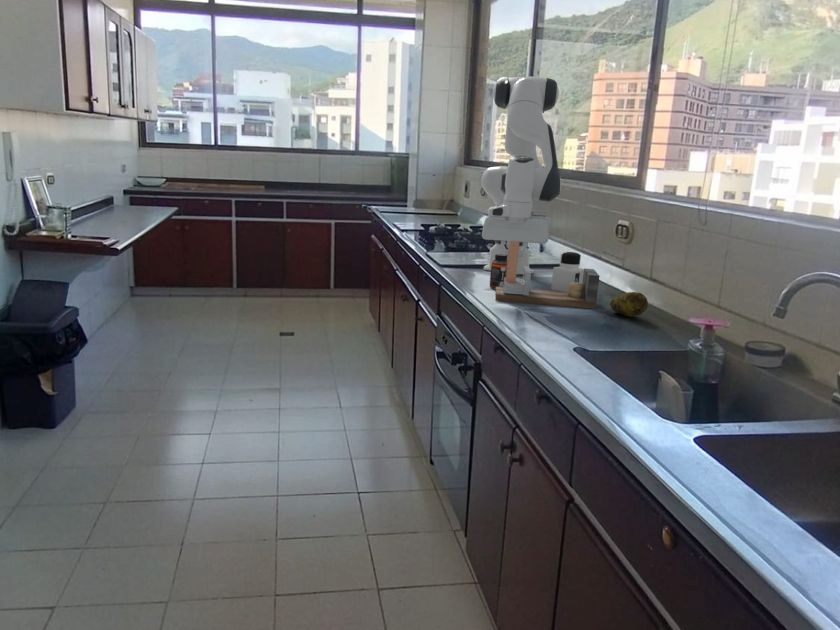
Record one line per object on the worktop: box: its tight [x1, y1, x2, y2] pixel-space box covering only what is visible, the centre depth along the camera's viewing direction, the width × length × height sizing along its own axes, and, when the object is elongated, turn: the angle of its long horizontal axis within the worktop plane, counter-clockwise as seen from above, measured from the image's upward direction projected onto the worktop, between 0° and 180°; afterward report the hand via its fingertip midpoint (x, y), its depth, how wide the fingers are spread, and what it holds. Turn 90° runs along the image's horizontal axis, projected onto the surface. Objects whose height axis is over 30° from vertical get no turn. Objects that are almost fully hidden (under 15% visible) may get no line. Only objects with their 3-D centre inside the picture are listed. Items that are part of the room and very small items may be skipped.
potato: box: [609, 291, 649, 318], centre depth 193 cm, size 8×13×8 cm, turn 0°
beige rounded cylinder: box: [568, 282, 584, 298], centre depth 208 cm, size 4×4×4 cm
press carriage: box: [503, 241, 532, 296], centre depth 208 cm, size 12×8×17 cm, turn 174°
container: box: [550, 251, 585, 292], centre depth 226 cm, size 8×8×13 cm
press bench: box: [494, 268, 600, 310], centre depth 208 cm, size 12×30×10 cm, turn 84°
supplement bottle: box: [489, 254, 507, 290], centre depth 223 cm, size 6×6×11 cm
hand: (512, 256), depth 208 cm, fingers closed on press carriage, 3 cm apart
